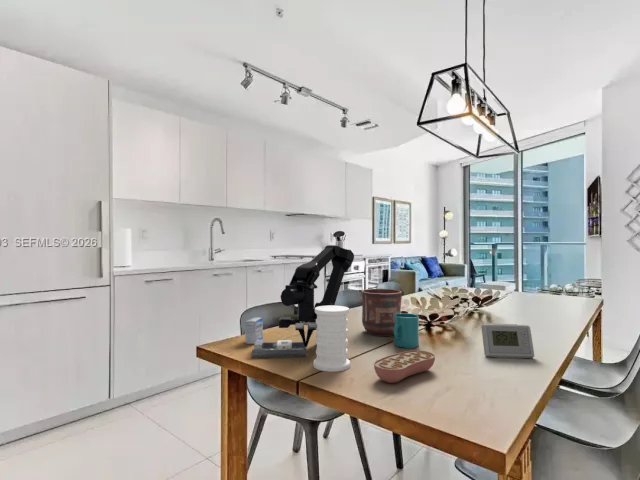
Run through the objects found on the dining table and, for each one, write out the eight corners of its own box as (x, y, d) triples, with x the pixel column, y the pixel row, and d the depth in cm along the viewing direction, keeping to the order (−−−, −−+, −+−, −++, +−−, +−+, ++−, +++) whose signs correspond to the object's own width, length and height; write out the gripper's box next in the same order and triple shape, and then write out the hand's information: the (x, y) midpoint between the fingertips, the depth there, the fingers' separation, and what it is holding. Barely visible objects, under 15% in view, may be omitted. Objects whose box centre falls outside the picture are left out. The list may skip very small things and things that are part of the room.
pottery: (411, 334, 158) (411, 291, 158) (381, 339, 148) (380, 294, 149) (382, 326, 173) (382, 287, 173) (352, 331, 163) (352, 290, 163)
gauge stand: (305, 348, 136) (305, 337, 136) (305, 356, 126) (306, 345, 126) (255, 349, 135) (255, 338, 135) (252, 357, 125) (252, 345, 125)
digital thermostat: (482, 357, 126) (482, 326, 126) (480, 350, 135) (480, 320, 135) (537, 362, 121) (537, 329, 121) (530, 354, 130) (530, 323, 130)
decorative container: (314, 359, 123) (314, 305, 124) (349, 359, 123) (349, 305, 123) (312, 371, 112) (312, 311, 112) (351, 372, 111) (351, 311, 112)
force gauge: (291, 346, 134) (291, 339, 134) (291, 353, 126) (291, 346, 126) (273, 346, 134) (273, 339, 134) (271, 353, 125) (271, 346, 125)
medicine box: (255, 344, 142) (255, 321, 142) (244, 343, 143) (244, 321, 143) (263, 339, 149) (263, 317, 149) (252, 338, 150) (252, 317, 150)
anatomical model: (393, 391, 98) (393, 372, 98) (365, 380, 105) (365, 362, 105) (441, 371, 113) (441, 355, 113) (413, 363, 120) (413, 347, 120)
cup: (384, 346, 139) (384, 316, 139) (403, 340, 147) (403, 312, 147) (405, 351, 133) (405, 320, 133) (423, 345, 141) (423, 315, 141)
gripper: (330, 298, 140) (330, 340, 140) (280, 298, 139) (280, 340, 139) (333, 303, 129) (333, 348, 128) (278, 303, 128) (278, 349, 127)
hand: (305, 346), depth 131 cm, fingers closed
